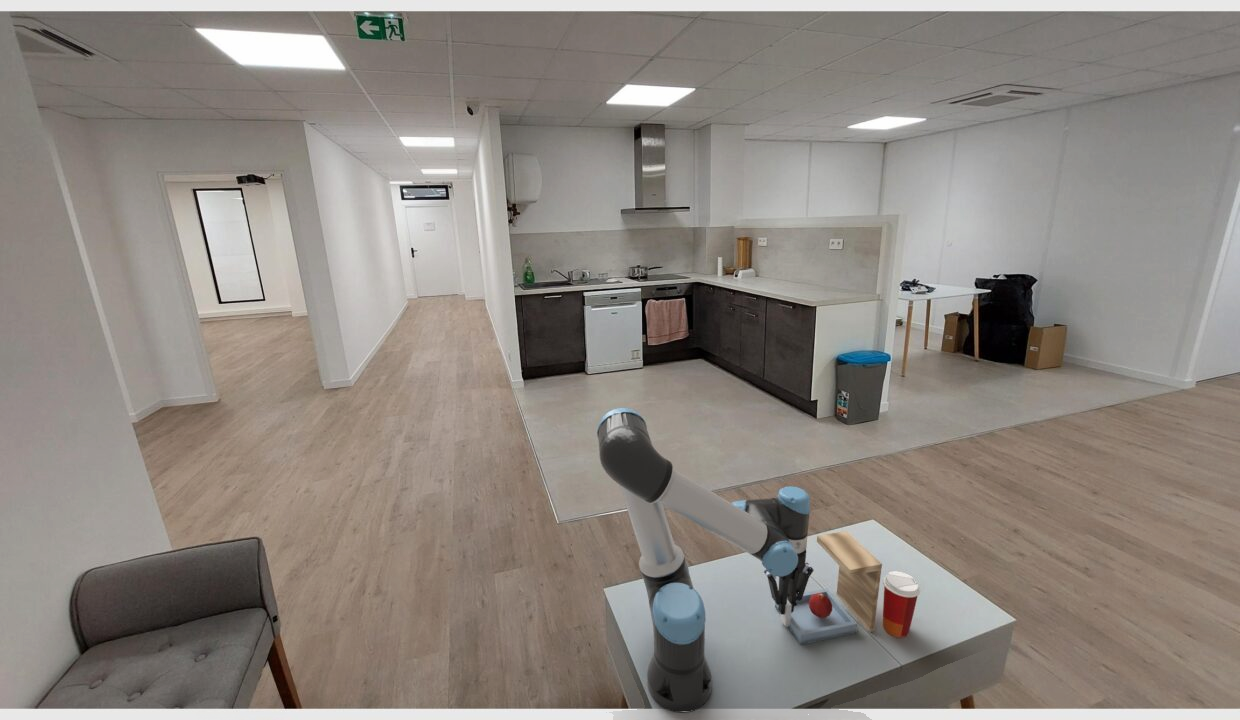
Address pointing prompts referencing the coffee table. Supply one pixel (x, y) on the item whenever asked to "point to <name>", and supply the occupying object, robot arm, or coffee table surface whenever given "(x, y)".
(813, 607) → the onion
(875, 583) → the wooden l-shaped bracket
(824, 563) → the coffee table surface
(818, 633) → the tray
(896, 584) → the coffee cup
